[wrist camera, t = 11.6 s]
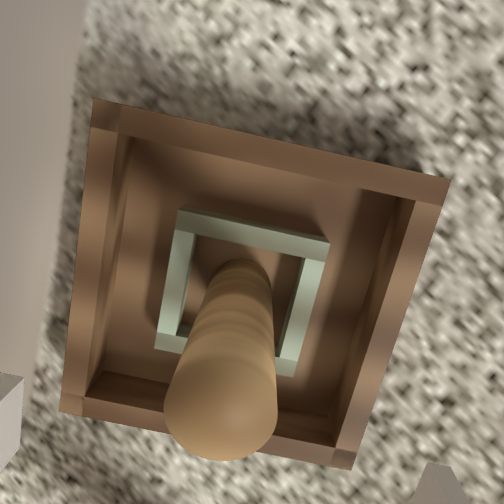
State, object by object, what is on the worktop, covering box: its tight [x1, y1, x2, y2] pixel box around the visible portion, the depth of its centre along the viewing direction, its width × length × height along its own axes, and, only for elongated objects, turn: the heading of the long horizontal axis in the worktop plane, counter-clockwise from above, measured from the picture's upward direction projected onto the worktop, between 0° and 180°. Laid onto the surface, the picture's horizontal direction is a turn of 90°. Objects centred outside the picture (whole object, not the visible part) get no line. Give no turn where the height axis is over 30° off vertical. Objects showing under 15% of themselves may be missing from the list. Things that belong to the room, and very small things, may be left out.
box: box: [59, 98, 451, 471], centre depth 28 cm, size 21×21×4 cm
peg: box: [164, 259, 278, 461], centre depth 22 cm, size 4×4×14 cm
